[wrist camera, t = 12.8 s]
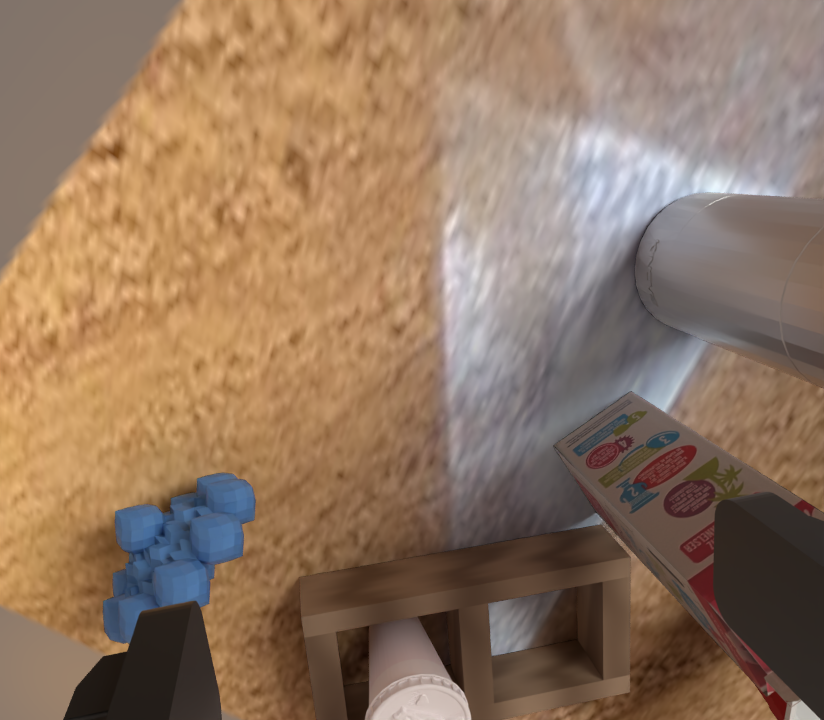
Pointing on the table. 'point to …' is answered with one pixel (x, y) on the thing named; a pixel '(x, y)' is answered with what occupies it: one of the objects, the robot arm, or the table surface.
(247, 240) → the table surface
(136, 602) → the grapes
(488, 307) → the table surface
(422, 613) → the slot rack
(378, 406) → the table surface
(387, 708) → the smoothie
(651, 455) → the juice carton
